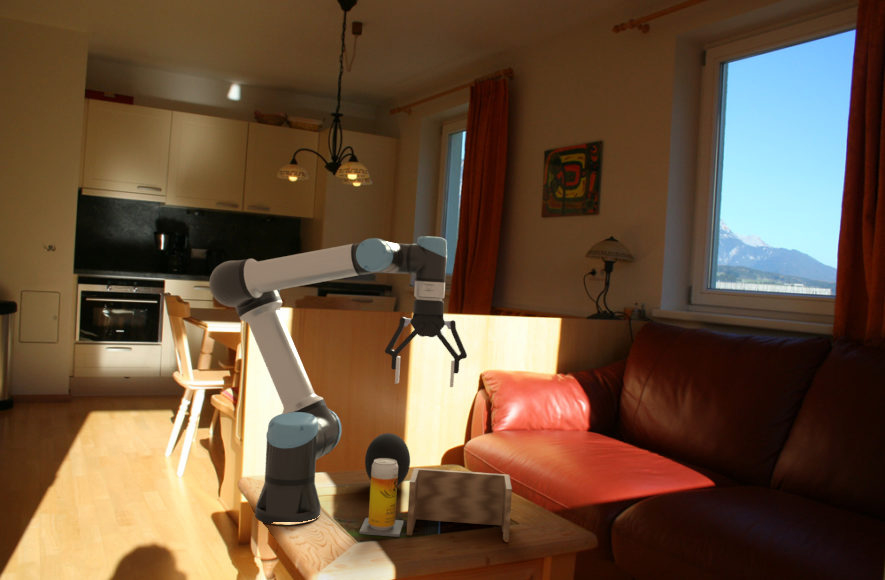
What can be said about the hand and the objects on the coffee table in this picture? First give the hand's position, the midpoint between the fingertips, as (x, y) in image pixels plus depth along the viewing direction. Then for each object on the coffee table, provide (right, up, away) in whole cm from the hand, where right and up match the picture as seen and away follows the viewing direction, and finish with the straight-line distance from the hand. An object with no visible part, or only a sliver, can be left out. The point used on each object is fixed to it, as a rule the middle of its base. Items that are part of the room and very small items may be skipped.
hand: (424, 384), depth 171 cm
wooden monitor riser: (+8, -32, -10) cm, 35 cm away
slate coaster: (-9, -31, -12) cm, 35 cm away
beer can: (-10, -31, -13) cm, 35 cm away
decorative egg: (-11, -31, +19) cm, 38 cm away
